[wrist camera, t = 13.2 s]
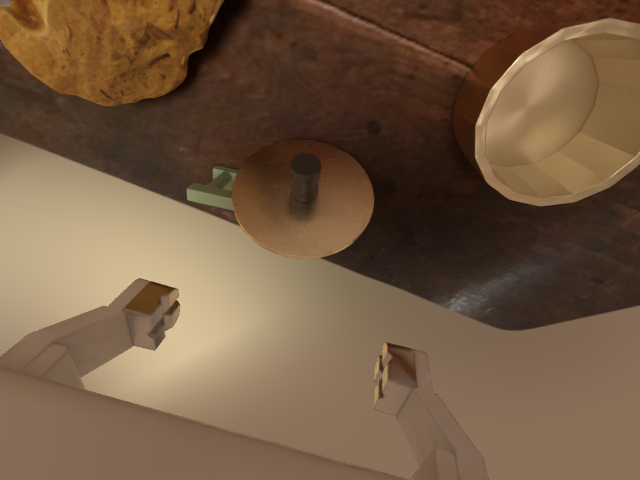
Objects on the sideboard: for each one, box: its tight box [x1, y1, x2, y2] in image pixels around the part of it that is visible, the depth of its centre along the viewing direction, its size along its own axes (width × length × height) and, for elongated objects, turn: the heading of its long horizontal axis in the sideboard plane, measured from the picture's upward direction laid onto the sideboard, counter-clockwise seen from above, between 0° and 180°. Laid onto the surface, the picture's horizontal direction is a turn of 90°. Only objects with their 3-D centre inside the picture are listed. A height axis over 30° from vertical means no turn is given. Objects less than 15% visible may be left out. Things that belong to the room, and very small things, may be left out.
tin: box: [453, 18, 640, 206], centre depth 24 cm, size 11×11×8 cm
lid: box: [232, 139, 374, 259], centre depth 27 cm, size 12×12×5 cm
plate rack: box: [187, 166, 239, 211], centre depth 32 cm, size 13×3×6 cm, turn 80°
